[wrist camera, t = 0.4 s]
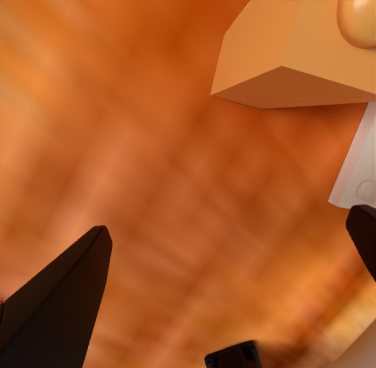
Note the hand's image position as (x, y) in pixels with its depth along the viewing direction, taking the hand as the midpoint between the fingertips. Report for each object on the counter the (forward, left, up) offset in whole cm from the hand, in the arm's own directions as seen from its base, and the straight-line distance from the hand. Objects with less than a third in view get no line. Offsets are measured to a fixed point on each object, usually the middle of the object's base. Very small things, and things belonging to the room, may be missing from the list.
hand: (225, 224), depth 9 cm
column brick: (+6, -7, -13) cm, 16 cm away
